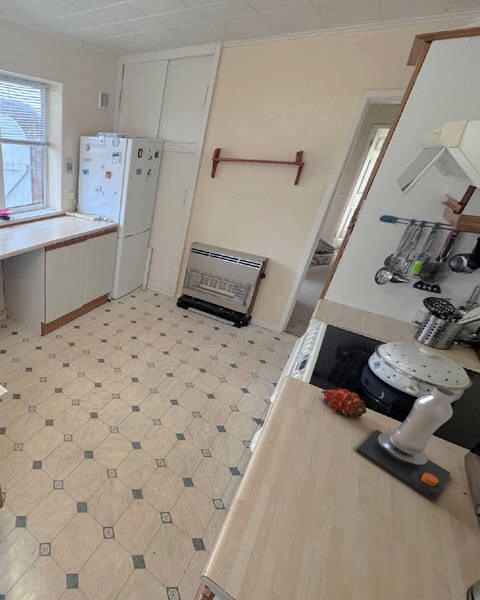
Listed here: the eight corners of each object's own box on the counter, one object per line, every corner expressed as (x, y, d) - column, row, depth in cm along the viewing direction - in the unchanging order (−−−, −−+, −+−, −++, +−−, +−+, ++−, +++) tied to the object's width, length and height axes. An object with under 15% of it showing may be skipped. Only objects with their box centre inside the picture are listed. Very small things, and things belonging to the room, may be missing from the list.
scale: (448, 478, 85) (455, 469, 83) (431, 505, 78) (440, 496, 76) (373, 433, 97) (379, 425, 95) (354, 453, 90) (359, 444, 88)
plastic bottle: (387, 433, 91) (426, 378, 83) (419, 448, 87) (464, 392, 78) (385, 446, 87) (426, 389, 78) (419, 462, 83) (466, 405, 74)
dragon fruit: (360, 428, 100) (316, 409, 109) (371, 406, 102) (327, 389, 111) (362, 417, 95) (315, 397, 104) (373, 394, 97) (326, 377, 106)
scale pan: (430, 456, 86) (432, 454, 86) (419, 472, 81) (420, 470, 81) (385, 429, 94) (386, 427, 93) (371, 443, 89) (373, 441, 88)
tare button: (436, 484, 79) (440, 479, 78) (432, 489, 78) (437, 484, 77) (422, 475, 81) (426, 470, 80) (418, 480, 80) (422, 475, 79)
